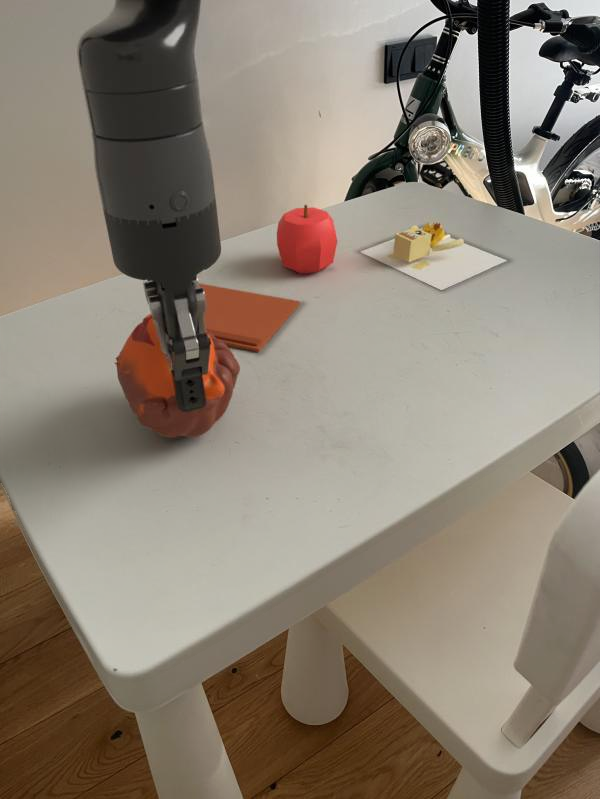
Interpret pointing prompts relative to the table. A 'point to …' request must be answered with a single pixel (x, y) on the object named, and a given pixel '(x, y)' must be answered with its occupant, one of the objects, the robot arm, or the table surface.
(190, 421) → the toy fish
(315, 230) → the apple
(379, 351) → the table surface
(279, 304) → the book
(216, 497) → the table surface
